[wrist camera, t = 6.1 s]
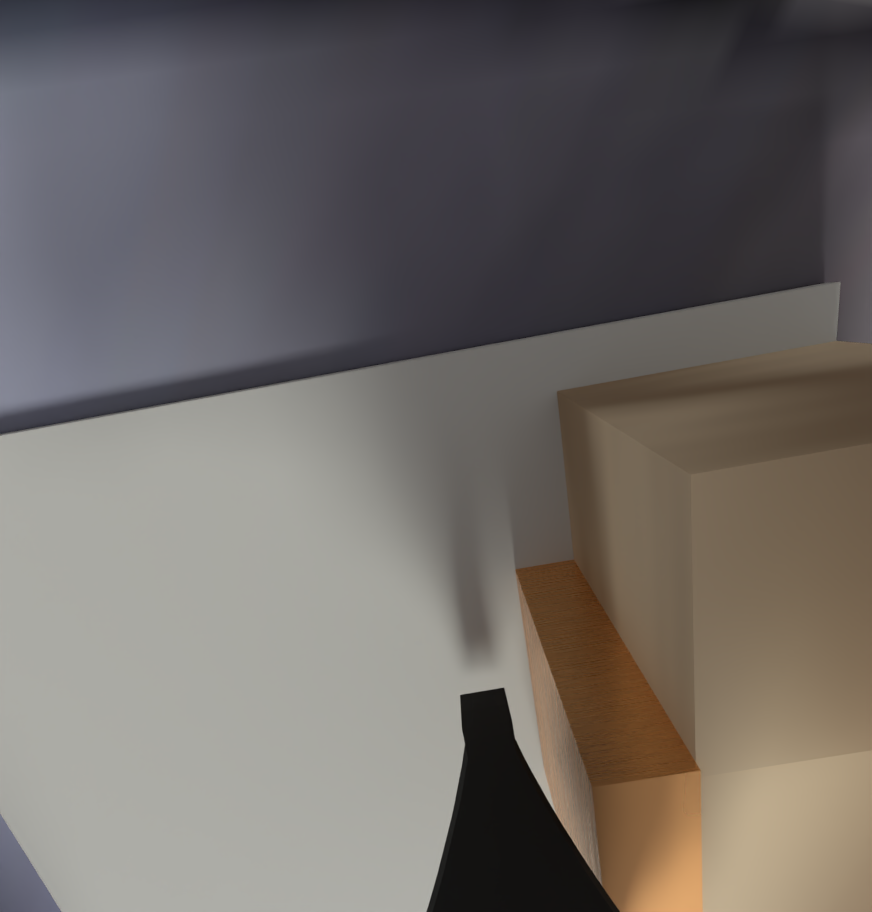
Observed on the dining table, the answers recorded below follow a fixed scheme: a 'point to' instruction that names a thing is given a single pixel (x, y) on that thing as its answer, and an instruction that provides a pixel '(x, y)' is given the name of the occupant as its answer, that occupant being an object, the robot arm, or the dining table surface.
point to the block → (746, 600)
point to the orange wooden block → (610, 749)
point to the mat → (296, 612)
